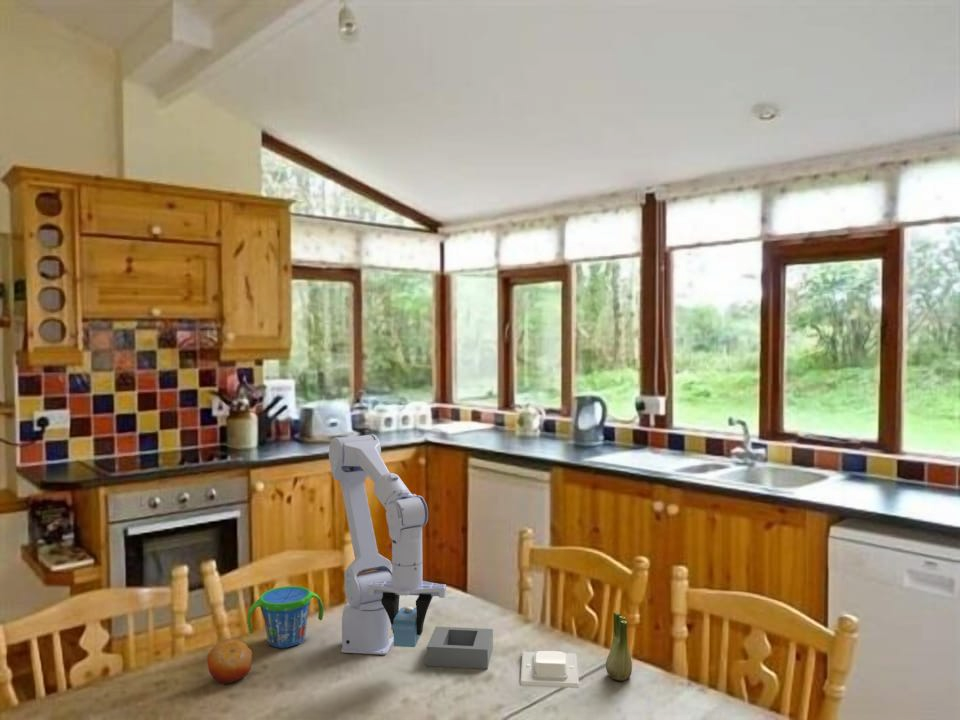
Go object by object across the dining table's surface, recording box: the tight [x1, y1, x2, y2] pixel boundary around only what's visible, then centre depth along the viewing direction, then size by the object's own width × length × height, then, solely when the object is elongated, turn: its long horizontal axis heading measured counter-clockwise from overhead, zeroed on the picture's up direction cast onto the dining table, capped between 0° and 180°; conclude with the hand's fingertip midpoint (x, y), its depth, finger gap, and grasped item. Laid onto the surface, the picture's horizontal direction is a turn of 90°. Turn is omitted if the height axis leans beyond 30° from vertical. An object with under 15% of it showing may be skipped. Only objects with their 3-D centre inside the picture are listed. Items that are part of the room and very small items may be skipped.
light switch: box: [519, 650, 580, 689], centre depth 142 cm, size 11×4×13 cm
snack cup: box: [246, 585, 324, 649], centre depth 156 cm, size 16×10×10 cm
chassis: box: [426, 625, 494, 670], centre depth 149 cm, size 12×10×4 cm
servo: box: [390, 606, 422, 648], centre depth 140 cm, size 4×10×6 cm, turn 173°
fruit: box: [206, 638, 253, 685], centre depth 140 cm, size 8×8×8 cm
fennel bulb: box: [605, 610, 633, 682], centre depth 139 cm, size 6×5×12 cm
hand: (407, 632), depth 140 cm, fingers closed on servo, 4 cm apart
